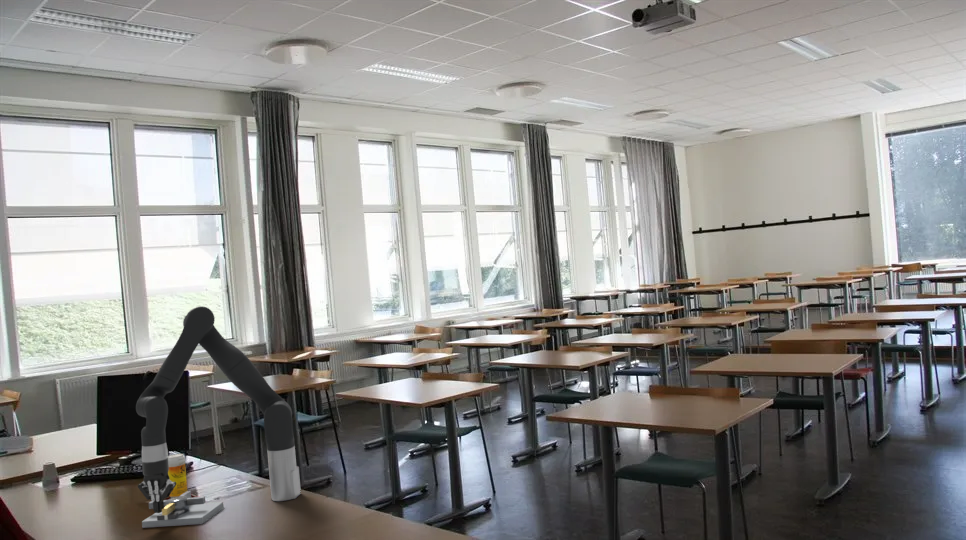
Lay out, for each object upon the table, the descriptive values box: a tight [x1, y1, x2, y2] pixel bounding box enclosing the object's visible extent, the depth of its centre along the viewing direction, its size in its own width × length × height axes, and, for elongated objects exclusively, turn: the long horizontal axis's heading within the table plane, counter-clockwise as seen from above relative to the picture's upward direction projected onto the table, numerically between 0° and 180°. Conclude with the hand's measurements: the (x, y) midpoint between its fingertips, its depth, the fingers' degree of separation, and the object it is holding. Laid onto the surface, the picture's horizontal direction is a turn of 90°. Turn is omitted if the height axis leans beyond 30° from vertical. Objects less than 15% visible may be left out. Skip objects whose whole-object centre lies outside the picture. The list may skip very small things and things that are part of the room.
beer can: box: [168, 453, 188, 499], centre depth 252 cm, size 6×6×15 cm
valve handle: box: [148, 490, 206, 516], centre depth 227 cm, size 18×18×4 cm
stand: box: [141, 501, 225, 529], centre depth 227 cm, size 20×15×3 cm
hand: (158, 512), depth 219 cm, fingers closed
